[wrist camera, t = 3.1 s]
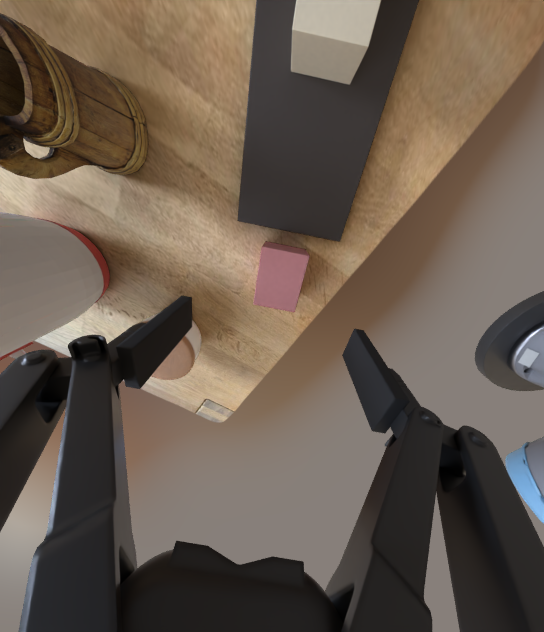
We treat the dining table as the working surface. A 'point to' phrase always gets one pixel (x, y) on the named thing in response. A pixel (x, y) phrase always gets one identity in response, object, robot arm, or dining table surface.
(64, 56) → the wooden mug
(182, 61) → the dining table surface
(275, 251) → the pink block
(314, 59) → the cream block
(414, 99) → the dining table surface
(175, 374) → the trinket box
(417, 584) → the robot arm
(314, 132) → the backrest board
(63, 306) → the citrus juicer
